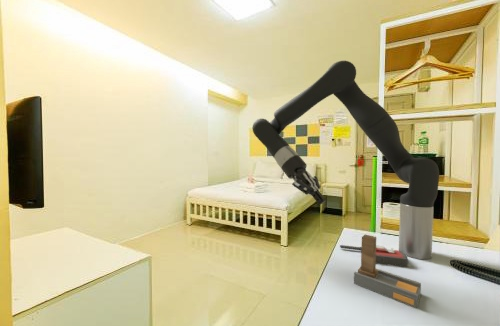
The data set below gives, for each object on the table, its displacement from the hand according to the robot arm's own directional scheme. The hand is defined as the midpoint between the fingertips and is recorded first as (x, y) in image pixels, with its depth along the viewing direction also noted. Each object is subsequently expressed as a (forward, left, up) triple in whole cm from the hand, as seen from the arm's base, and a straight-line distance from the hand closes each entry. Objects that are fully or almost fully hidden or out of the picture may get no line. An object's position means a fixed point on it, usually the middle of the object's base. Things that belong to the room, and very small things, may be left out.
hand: (322, 202), depth 68 cm
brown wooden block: (0, +13, -17) cm, 22 cm away
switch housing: (0, +17, -20) cm, 26 cm away
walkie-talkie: (-17, +10, -20) cm, 28 cm away
